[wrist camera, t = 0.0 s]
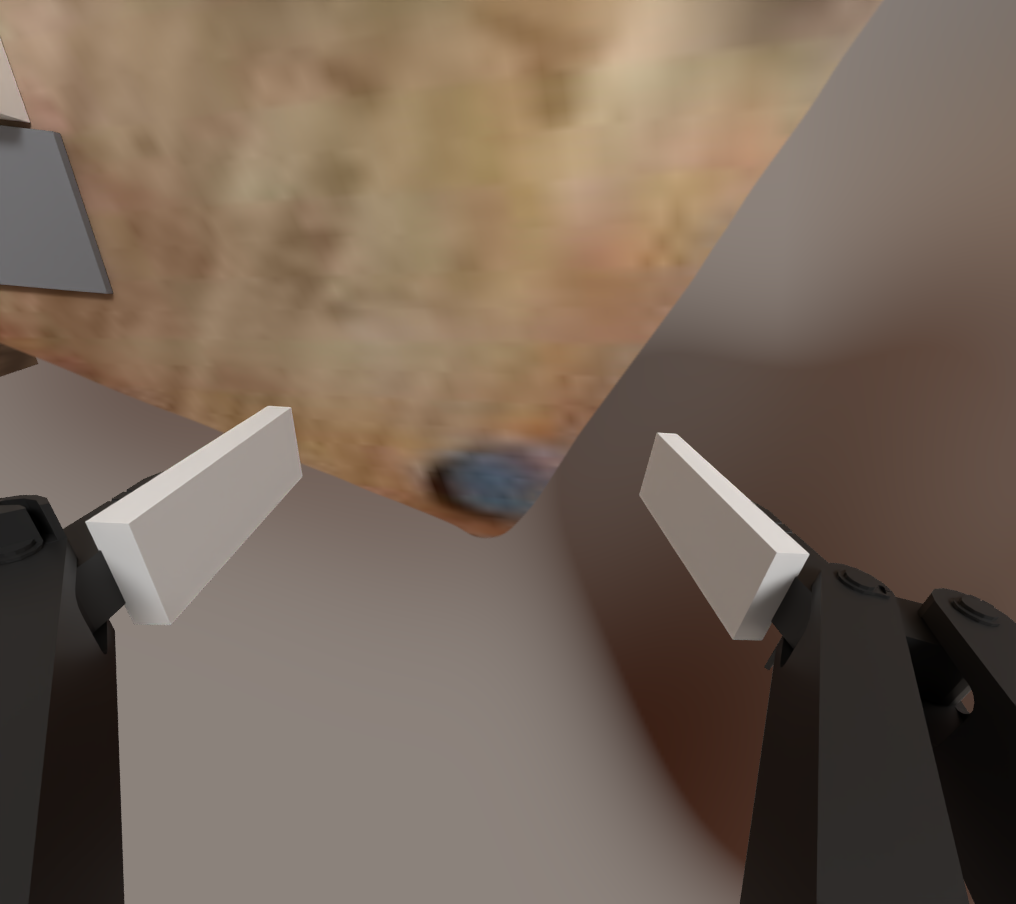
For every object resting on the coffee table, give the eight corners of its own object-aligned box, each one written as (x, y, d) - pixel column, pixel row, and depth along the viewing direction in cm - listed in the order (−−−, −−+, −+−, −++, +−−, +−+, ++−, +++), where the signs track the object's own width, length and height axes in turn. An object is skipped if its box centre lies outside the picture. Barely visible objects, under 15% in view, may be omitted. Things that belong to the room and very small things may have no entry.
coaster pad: (-106, 114, 30) (-117, 111, 30) (60, 133, 31) (52, 131, 30) (-27, 280, 35) (-35, 281, 35) (113, 293, 36) (107, 293, 36)
